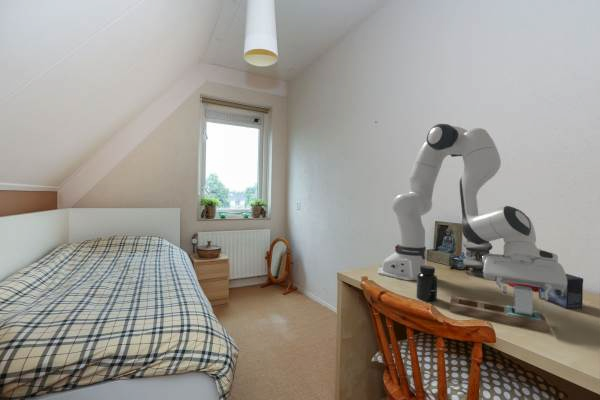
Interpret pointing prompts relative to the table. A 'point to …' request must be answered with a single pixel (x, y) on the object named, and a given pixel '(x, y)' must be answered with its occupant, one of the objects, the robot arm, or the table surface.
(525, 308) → the steel peg
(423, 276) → the supplement bottle
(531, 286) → the alarm clock
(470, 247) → the apothecary jar
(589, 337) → the table surface
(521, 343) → the table surface
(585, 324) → the table surface
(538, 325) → the wooden compartment tray
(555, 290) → the small box
